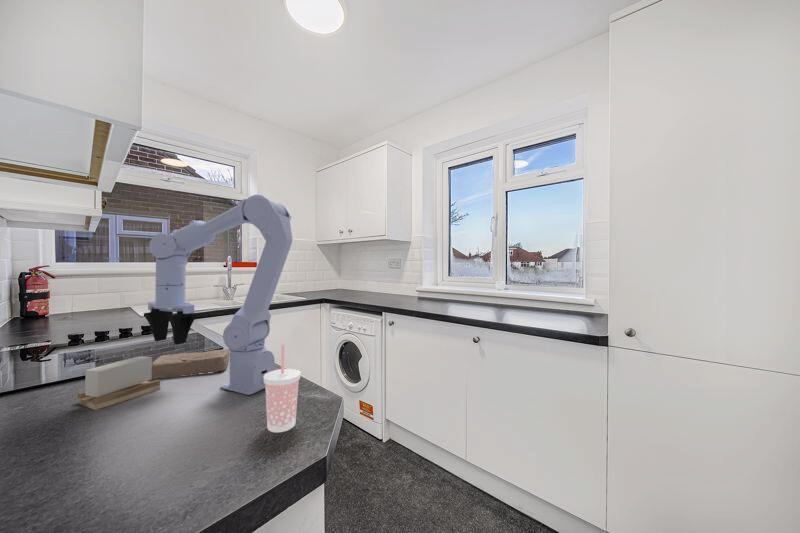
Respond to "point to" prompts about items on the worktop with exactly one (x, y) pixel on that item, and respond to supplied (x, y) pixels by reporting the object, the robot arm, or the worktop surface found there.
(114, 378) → the white rectangular block
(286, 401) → the beverage cup
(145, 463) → the worktop surface
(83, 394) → the wooden base plate
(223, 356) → the brick
